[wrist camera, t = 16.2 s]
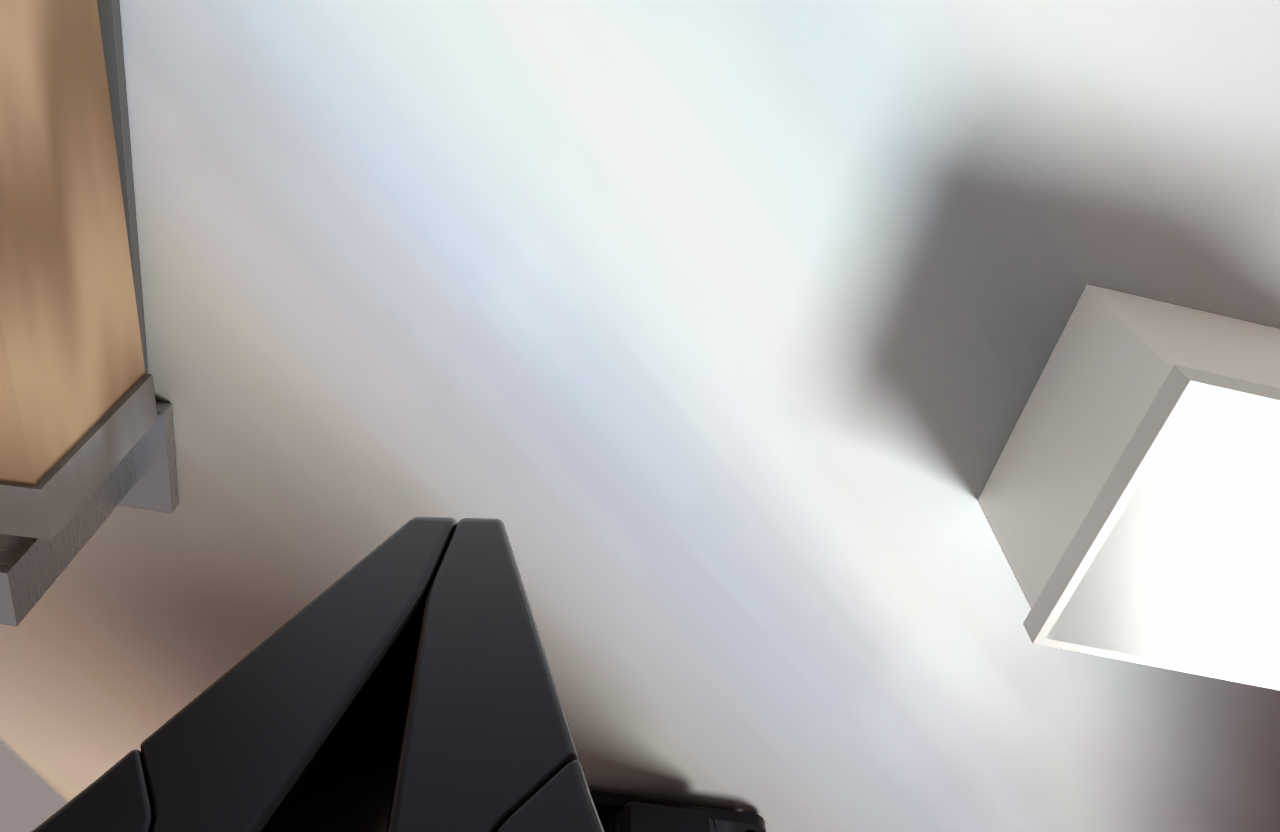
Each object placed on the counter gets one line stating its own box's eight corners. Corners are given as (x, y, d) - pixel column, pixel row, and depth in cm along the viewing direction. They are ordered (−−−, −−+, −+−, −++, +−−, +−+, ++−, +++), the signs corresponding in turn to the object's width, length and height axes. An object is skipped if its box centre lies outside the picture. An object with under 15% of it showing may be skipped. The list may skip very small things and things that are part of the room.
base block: (1197, 550, 25) (1310, 696, 20) (965, 502, 24) (1032, 643, 20) (1342, 333, 22) (1513, 452, 17) (1080, 271, 21) (1190, 380, 17)
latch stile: (178, 504, 24) (62, 661, 20) (56, 484, 24) (-91, 638, 19) (171, 403, 23) (44, 548, 18) (42, 382, 23) (-122, 521, 18)
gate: (-20, -266, 16) (-247, -307, 12) (73, -250, 16) (-121, -285, 12) (93, 410, 22) (-30, 530, 18) (158, 419, 22) (50, 539, 18)
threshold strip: (149, 385, 23) (143, 392, 22) (62, 370, 22) (55, 377, 22) (101, -236, 16) (91, -237, 16) (-21, -262, 16) (-31, -264, 16)
